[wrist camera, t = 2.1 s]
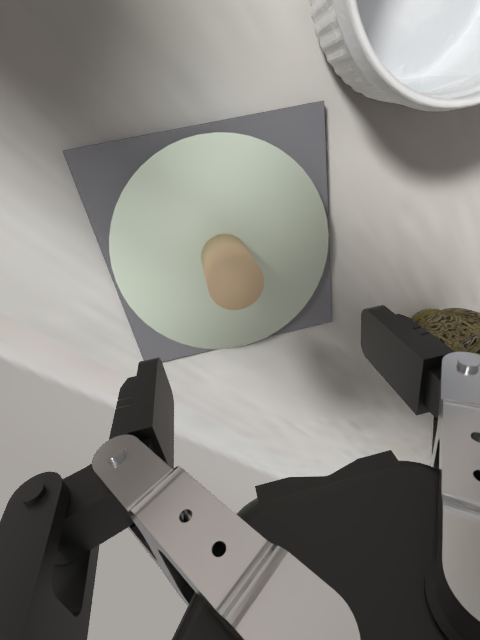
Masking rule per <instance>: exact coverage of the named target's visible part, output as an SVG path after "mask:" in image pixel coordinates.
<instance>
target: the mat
mask: <svg viewBox="0 0 480 640" xmlns="http://www.w3.org/2000/svg"><path fill="white" fill-rule="evenodd" d="M214 132H225V133H237V134H243V135H248V136H252V137H255V138H257V139H260V140H263V141H266V142H268V143H270V144H271V145H273V146H275V147H277V148H279V149H280V150H282V151H283V152H285V153H286V154H287V155H289V156H290V157H291V158H292V159H293V160H295V161H296V162H297V163H298V164H299V165H300V166H301V167H302V168H303V170H304V171H305V172H306V174H307V175H308V176H309V178H310V179H311V180H312V182H313V184H314V186H315V187H316V189H317V191H318V193H319V195H320V198H321V200H322V203H323V205H324V209H325V213H326V217H327V223H328V198H327V170H326V142H325V114H324V101H319V102H314V103H309V104H304V105H298V106H293V107H288V108H283V109H278V110H272V111H267V112H262V113H257V114H252V115H246V116H241V117H236V118H231V119H226V120H220V121H215V122H210V123H205V124H200V125H194V126H189V127H184V128H179V129H174V130H168V131H163V132H158V133H153V134H148V135H142V136H137V137H132V138H127V139H122V140H116V141H111V142H106V143H101V144H96V145H90V146H85V147H80V148H75V149H70V150H64V151H63V153H64V156H65V158H66V161H67V163H68V166H69V169H70V171H71V174H72V176H73V179H74V182H75V184H76V187H77V189H78V192H79V194H80V197H81V200H82V202H83V205H84V207H85V210H86V213H87V215H88V218H89V220H90V223H91V225H92V228H93V231H94V233H95V236H96V238H97V241H98V244H99V246H100V249H101V251H102V254H103V256H104V259H105V262H106V264H107V267H108V269H109V272H110V275H111V277H112V280H113V282H114V285H115V287H116V290H117V293H118V295H119V298H120V300H121V303H122V306H123V308H124V311H125V313H126V316H127V318H128V321H129V324H130V326H131V329H132V331H133V334H134V337H135V339H136V342H137V344H138V347H139V349H140V352H141V355H142V357H143V360H144V361H145V360H149V359H154V358H158V357H159V358H160V359H161V361H162V362H164V361H169V360H173V359H177V358H181V357H185V356H189V355H194V354H198V353H202V352H206V351H210V350H214V349H205V348H198V347H192V346H189V345H185V344H181V343H179V342H176V341H174V340H171V339H169V338H167V337H165V336H164V335H162V334H160V333H158V332H157V331H155V330H154V329H152V328H151V327H150V326H148V325H147V324H146V323H145V322H144V321H143V320H142V319H141V318H140V317H138V316H137V314H136V313H135V312H134V311H133V310H132V308H131V307H130V306H129V305H128V303H127V301H126V300H125V298H124V297H123V295H122V293H121V291H120V289H119V287H118V285H117V283H116V280H115V277H114V273H113V270H112V266H111V260H110V254H109V234H110V226H111V220H112V217H113V213H114V209H115V206H116V204H117V202H118V199H119V197H120V195H121V193H122V191H123V189H124V188H125V186H126V185H127V183H128V181H129V180H130V178H131V177H132V176H133V175H134V174H135V172H136V171H137V170H138V169H139V168H140V166H141V165H143V164H144V163H145V162H146V161H147V160H148V159H149V158H151V157H152V156H153V155H154V154H155V153H157V152H159V151H160V150H162V149H163V148H165V147H166V146H168V145H170V144H172V143H175V142H177V141H179V140H181V139H184V138H187V137H191V136H195V135H198V134H206V133H214ZM328 233H329V227H328ZM331 321H332V312H331V283H330V255H329V238H328V253H327V259H326V263H325V267H324V271H323V274H322V276H321V279H320V281H319V284H318V286H317V288H316V289H315V291H314V293H313V295H312V297H311V298H310V299H309V301H308V302H307V304H306V305H305V306H304V308H303V309H302V310H301V311H300V312H299V313H298V314H297V315H296V316H295V317H294V318H293V319H292V320H291V321H290V322H289V323H288V324H286V325H285V326H284V327H282V328H281V329H279V330H278V331H277V332H275V333H273V334H271V335H269V336H273V335H277V334H281V333H285V332H289V331H293V330H298V329H302V328H306V327H310V326H314V325H318V324H322V323H327V322H331Z"/></svg>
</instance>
